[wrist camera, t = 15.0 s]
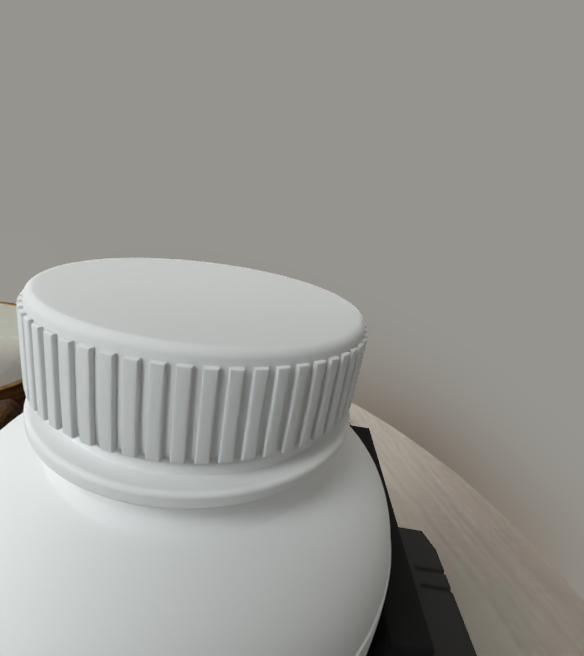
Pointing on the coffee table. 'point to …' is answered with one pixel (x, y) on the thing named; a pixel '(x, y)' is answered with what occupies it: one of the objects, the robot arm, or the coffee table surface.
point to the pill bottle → (188, 468)
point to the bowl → (10, 356)
